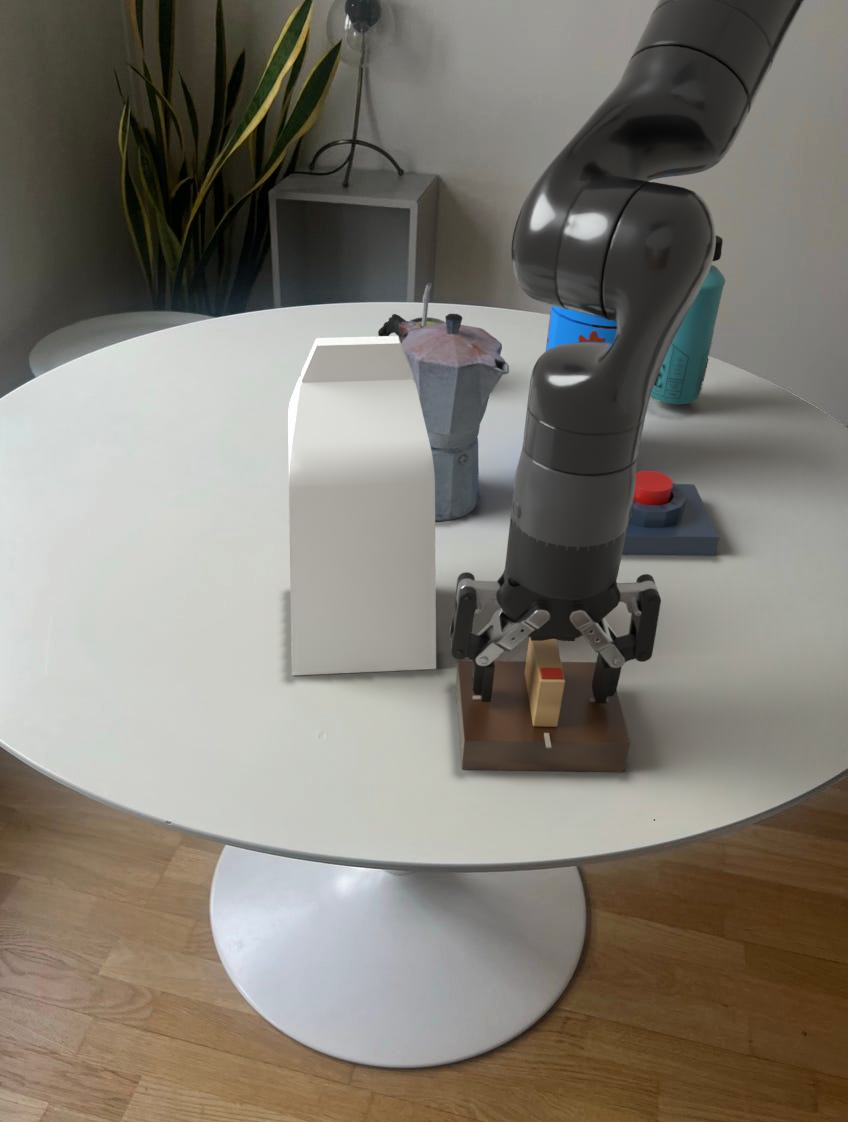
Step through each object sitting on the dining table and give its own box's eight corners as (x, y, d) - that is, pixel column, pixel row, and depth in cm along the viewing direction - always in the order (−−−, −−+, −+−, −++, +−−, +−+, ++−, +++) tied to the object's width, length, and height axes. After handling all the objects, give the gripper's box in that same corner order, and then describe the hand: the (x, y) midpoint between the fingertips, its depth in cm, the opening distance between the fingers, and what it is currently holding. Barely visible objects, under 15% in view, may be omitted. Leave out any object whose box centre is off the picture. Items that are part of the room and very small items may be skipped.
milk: (291, 675, 80) (271, 377, 63) (290, 592, 88) (272, 312, 72) (436, 668, 80) (453, 372, 64) (420, 587, 89) (432, 308, 73)
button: (664, 486, 96) (668, 470, 95) (673, 507, 93) (677, 491, 92) (624, 485, 96) (627, 470, 95) (632, 506, 93) (635, 491, 92)
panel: (602, 685, 79) (608, 655, 77) (625, 778, 71) (633, 748, 69) (455, 683, 79) (457, 653, 77) (462, 775, 71) (465, 745, 69)
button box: (689, 502, 101) (698, 468, 98) (714, 556, 93) (724, 521, 91) (575, 500, 101) (580, 467, 99) (590, 554, 93) (596, 519, 91)
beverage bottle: (709, 408, 118) (750, 238, 105) (669, 421, 115) (707, 249, 102) (669, 388, 122) (705, 223, 109) (631, 401, 119) (662, 233, 107)
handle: (524, 672, 75) (530, 625, 72) (547, 673, 75) (554, 625, 72) (532, 726, 71) (540, 678, 68) (557, 727, 71) (565, 678, 68)
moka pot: (469, 544, 95) (485, 347, 82) (346, 494, 102) (343, 307, 89) (518, 503, 101) (540, 314, 88) (399, 459, 108) (403, 278, 95)
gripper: (667, 482, 65) (626, 664, 75) (456, 480, 65) (444, 661, 76) (694, 544, 59) (646, 731, 70) (463, 541, 60) (448, 729, 70)
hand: (541, 695), depth 73 cm, fingers open, 8 cm apart
